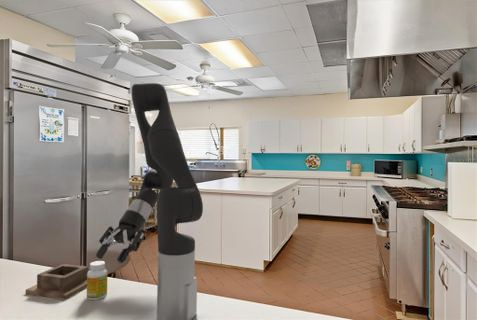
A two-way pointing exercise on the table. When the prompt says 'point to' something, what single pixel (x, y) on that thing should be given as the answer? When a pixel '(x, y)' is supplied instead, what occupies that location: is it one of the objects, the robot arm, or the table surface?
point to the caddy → (60, 282)
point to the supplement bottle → (97, 281)
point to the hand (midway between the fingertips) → (108, 259)
